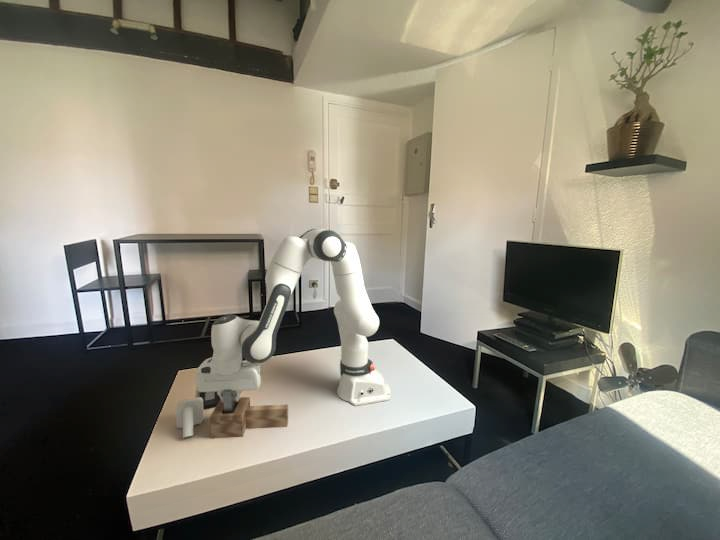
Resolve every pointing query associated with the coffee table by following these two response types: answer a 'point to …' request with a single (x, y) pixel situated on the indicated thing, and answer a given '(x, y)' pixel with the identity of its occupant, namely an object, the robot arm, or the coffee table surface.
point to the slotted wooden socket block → (246, 418)
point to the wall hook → (189, 414)
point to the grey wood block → (229, 401)
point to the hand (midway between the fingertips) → (230, 400)
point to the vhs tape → (209, 399)
